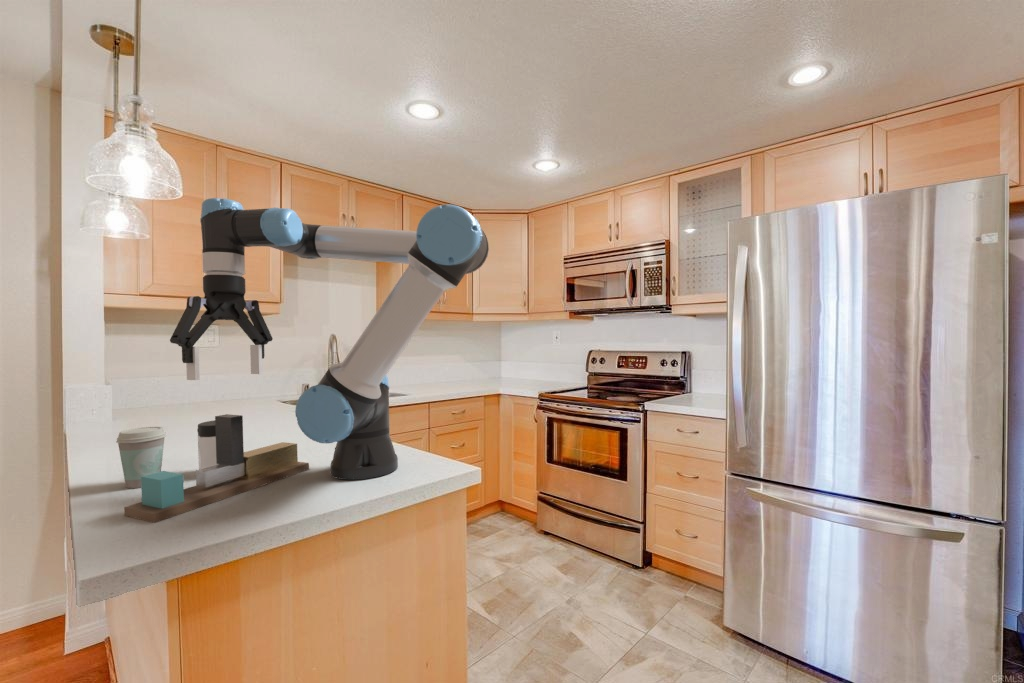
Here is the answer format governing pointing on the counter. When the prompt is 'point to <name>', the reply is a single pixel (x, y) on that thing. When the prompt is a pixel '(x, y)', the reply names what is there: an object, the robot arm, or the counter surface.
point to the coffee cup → (140, 453)
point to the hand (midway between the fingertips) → (227, 376)
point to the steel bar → (225, 452)
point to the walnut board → (210, 494)
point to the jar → (207, 444)
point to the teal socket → (162, 489)
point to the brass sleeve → (269, 459)
